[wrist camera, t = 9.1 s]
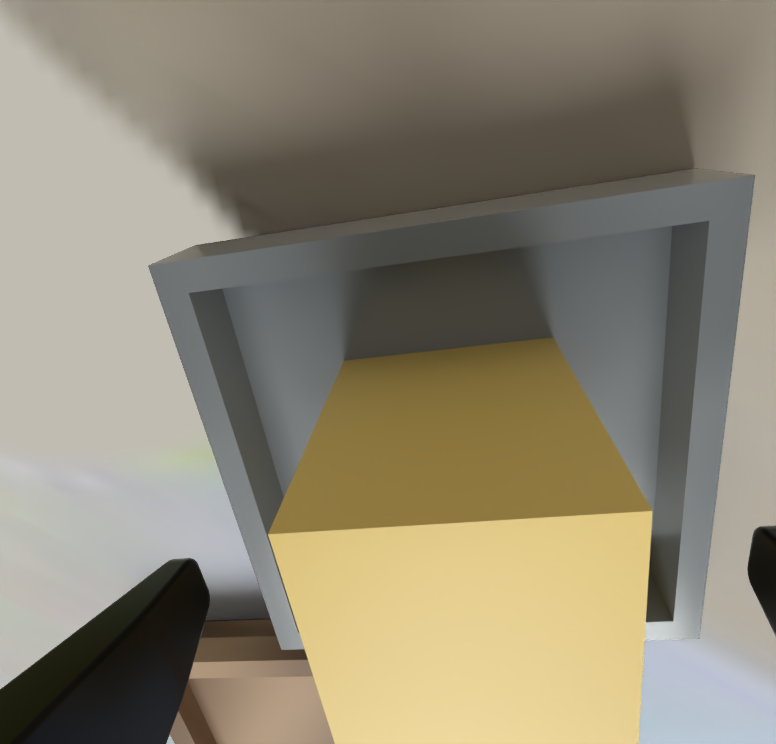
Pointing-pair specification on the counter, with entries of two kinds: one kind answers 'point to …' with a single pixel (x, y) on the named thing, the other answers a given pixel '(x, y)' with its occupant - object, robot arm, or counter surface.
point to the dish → (484, 339)
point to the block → (468, 554)
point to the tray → (249, 690)
